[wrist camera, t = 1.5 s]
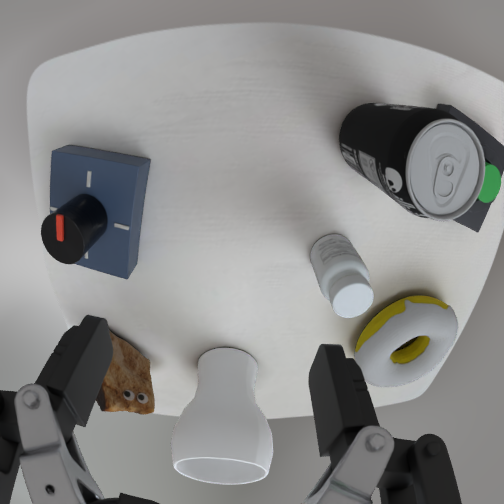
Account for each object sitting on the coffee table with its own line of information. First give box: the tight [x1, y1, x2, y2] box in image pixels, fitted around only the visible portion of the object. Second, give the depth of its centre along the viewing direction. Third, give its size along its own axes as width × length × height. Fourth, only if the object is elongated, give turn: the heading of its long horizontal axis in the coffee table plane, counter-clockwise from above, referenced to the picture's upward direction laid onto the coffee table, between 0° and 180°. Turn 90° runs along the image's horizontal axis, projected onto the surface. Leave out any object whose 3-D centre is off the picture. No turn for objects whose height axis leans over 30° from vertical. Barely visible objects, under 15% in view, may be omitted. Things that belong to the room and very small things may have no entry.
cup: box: [171, 348, 273, 484], centre depth 30 cm, size 11×11×15 cm
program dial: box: [41, 194, 108, 264], centre depth 21 cm, size 4×4×5 cm
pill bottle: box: [310, 234, 374, 318], centre depth 25 cm, size 4×4×8 cm
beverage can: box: [339, 103, 485, 221], centre depth 18 cm, size 7×7×12 cm
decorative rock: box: [96, 330, 155, 414], centre depth 30 cm, size 12×6×11 cm, turn 52°
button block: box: [437, 104, 504, 232], centre depth 22 cm, size 10×10×4 cm
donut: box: [354, 295, 458, 387], centre depth 32 cm, size 14×14×5 cm
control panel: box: [50, 145, 151, 279], centre depth 25 cm, size 11×9×3 cm
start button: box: [477, 162, 501, 203], centre depth 20 cm, size 4×4×2 cm
